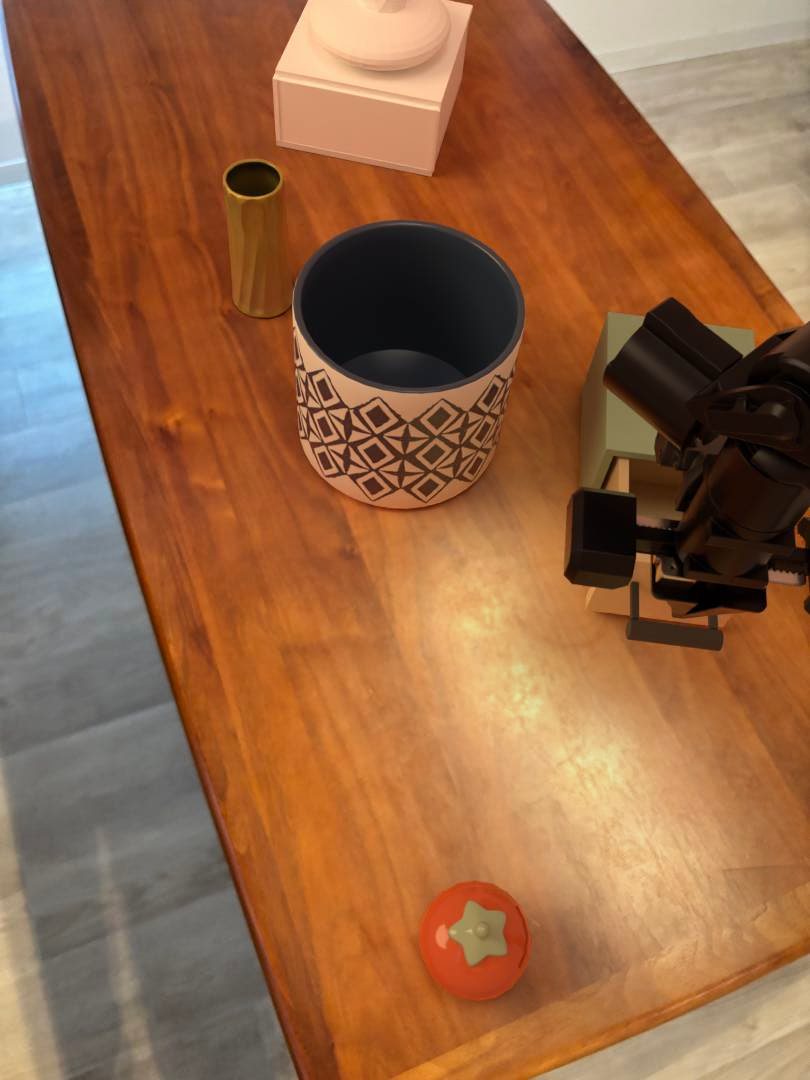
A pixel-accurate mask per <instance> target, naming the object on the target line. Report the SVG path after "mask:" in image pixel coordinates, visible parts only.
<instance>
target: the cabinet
mask: <svg viewBox="0 0 810 1080" xmlns="http://www.w3.org/2000/svg"><path fill="white" fill-rule="evenodd" d="M645 316H646V315H637V314H628V313H621V312H613V311H608V312H607V313H606V316H605V319H604V323H603V325H602V328H601V332H600V335H599V338H598V341H597V344H596V347H595V349H594V353H593V355H592V358H591V361H590V365H589V368H588V371H587V373H586V377H585V380H584V382H583V386H582V389H581V410H580V411H581V413H580V416H581V419H580V446H579V448H580V449H579V482H578V489H579V488H580V487H581V486H582V487H589V488H597V489H600V488H601V485H602V483H603V480H604V478H605V476H606V473H607V471H608V468H609V466H610V463H611V461H612V459H613V456H620V457H628V458H636V459H643V460H651V461H656V456H655V450H654V444H655V438H656V435H657V432H658V431H657V430H656V429H655V428H653V427H652V426H651V425H650V424H649V423H648V422H646V421H645V420H644V419H643V418H642V417H640V416H639V415H638V414H637V413H636V412H634V411H633V410H632V409H631V408H630V407H629V406H627V405H626V404H625V403H624V402H623V401H621V400H620V399H619V398H618V397H617V396H615V395H614V394H613V393H612V392H611V391H610V390H608V389H607V388H606V387H605V386H604V385H603V380H602V379H603V375H604V371H605V369H606V366H607V365H608V364H609V362H610V361H612V360H613V359H615V357H616V356H617V354H618V353H619V351H620V350H621V348H622V347H623V346H624V344H625V343H626V342H627V341H628V340H629V338H630V337H631V336H632V335H633V334H634V333H635V332H636V331H637V330H638V329H639V327H641V326H642V324H643V321H644V319H645ZM703 324H704V325H705V326H707V327H708V328H709V329H710V330H712V331H713V332H714V333H716V334H717V335H718V336H719V337H721V338H722V339H723V340H725V341H726V342H727V343H728V344H730V345H731V346H732V347H734V348H735V349H736V350H737V351H739V352H740V353H741V354H743V358H744V357H745V356H746V355H747V354H749V353H750V352H751V351H753V350H754V349H755V348H756V340H755V331H754V330H755V329H748V328H740V327H734V326H723V325H717V324H710V323H709V324H708V323H703Z"/></svg>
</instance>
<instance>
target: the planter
mask: <svg viewBox="0 0 810 1080" xmlns="http://www.w3.org/2000/svg"><path fill="white" fill-rule="evenodd" d="M293 287H294V291H293V303H292V305H291V307H292V333H293V335H292V336H293V353H294V356H293V357H294V374H295V375H294V377H295V392H296V393H295V394H296V411H297V412H296V413H297V427H298V432H299V433H298V434H299V440H300V443H301V446H302V449H303V452H304V454H305V456H306V458H307V460H308V461H309V464H311V466H312V468H314V470H315V471H316V472H317V474H319V476H320V477H321V478H322V479H323V480H325V482H327V484H329V485H330V486H331V487H333V488H334V489H336V490H337V491H339V492H340V493H342V494H344V495H346V496H347V497H350V498H352V499H354V500H356V501H359V502H362V503H364V504H369V505H371V506H375V507H381V508H388V509H416V508H417V509H418V508H425V507H428V506H432V505H436V504H440V503H443V502H445V501H447V500H450V499H452V498H454V497H455V496H457V495H459V494H461V493H462V492H464V491H466V490H467V489H468V488H470V487H471V486H472V485H473V484H474V483H476V482H477V481H478V480H479V479H480V477H481V476H482V475H483V474H484V472H485V471H486V470H487V468H488V467H489V465H490V463H491V461H492V460H493V457H494V455H495V452H496V449H497V446H498V441H499V438H500V434H501V430H502V425H503V421H504V418H505V413H506V409H507V405H508V400H509V398H510V397H509V396H510V392H511V388H512V385H513V379H514V375H515V371H516V366H517V362H518V358H519V354H520V349H521V345H522V342H523V341H522V340H523V336H524V331H525V325H526V317H527V310H526V300H525V296H524V293H523V290H522V286H521V284H520V282H519V280H518V279H517V277H516V274H515V273H514V271H513V270H512V269H511V268H510V267H509V265H508V264H507V263H506V261H505V260H504V259H503V258H502V257H501V256H500V255H499V254H498V253H497V252H496V251H495V250H494V249H492V248H491V247H490V246H488V245H487V244H485V243H484V242H482V241H481V240H479V239H477V238H475V237H474V236H472V235H470V234H468V233H466V232H464V231H461V230H458V229H456V228H453V227H451V226H447V225H444V224H440V223H435V222H432V221H425V220H417V219H390V220H380V221H376V222H369V223H366V224H365V223H364V224H362V225H359V226H356V227H352V228H349V229H348V230H345V231H343V232H341V233H339V234H337V235H335V236H334V237H332V238H330V239H329V240H327V241H326V242H325V243H323V244H322V245H321V246H320V247H319V248H318V249H316V251H314V252H313V253H312V254H311V255H310V257H309V258H308V259H307V261H306V262H305V263H304V264H303V266H302V268H301V269H300V272H299V273H298V276H297V277H296V280H295V284H294V286H293Z"/></svg>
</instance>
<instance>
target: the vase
mask: <svg viewBox="0 0 810 1080" xmlns="http://www.w3.org/2000/svg"><path fill="white" fill-rule="evenodd" d="M222 191H223V197H224V198H223V199H224V206H225V214H226V215H225V216H226V224H227V233H228V247H229V260H230V261H229V262H230V275H231V277H230V278H231V290H232V295H231V298H232V301H233V304H234V305H235V307H236V308H237V310H239V311H240V312H241V313H243V314H245V315H247V316H250V317H253V318H259V319H260V318H261V319H269V318H274V317H278V316H279V315H282V314H283V313H285V312H287V310H288V309H290V307H292V304H293V291H294V287H295V286H294V283H293V274H292V273H293V271H292V262H291V261H292V260H291V252H290V251H291V250H290V239H289V228H288V218H287V217H288V216H287V207H286V195H285V191H286V190H285V178H284V174H283V172H282V170H281V169H280V167H278V166H277V165H276V164H275V163H273V162H272V161H269V160H267V159H264V158H263V159H262V158H245V159H239V160H238V161H236V162H233V163H232V164H230V166H228V167H227V168H226V169H225V170H224V173H223V175H222Z"/></svg>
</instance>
